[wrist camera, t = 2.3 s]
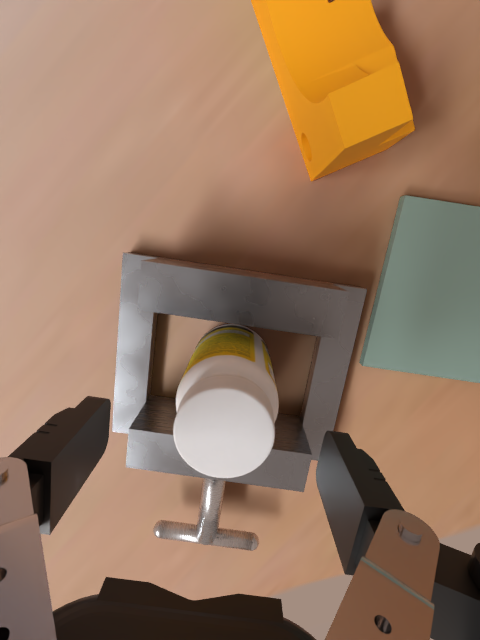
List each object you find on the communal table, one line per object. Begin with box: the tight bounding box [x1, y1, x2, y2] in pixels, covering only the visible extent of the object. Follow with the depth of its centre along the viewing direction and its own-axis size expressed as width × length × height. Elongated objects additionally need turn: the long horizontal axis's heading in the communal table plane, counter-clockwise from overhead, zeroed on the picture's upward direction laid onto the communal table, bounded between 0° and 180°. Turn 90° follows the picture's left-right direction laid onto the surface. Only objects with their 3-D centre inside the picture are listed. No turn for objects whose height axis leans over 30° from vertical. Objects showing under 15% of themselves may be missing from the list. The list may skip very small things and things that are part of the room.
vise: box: [112, 252, 367, 551], centre depth 19 cm, size 14×18×4 cm
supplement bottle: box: [173, 324, 279, 478], centre depth 16 cm, size 5×5×8 cm
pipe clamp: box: [251, 0, 415, 181], centre depth 14 cm, size 12×4×6 cm, turn 22°
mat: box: [359, 195, 480, 383], centre depth 19 cm, size 10×10×1 cm
